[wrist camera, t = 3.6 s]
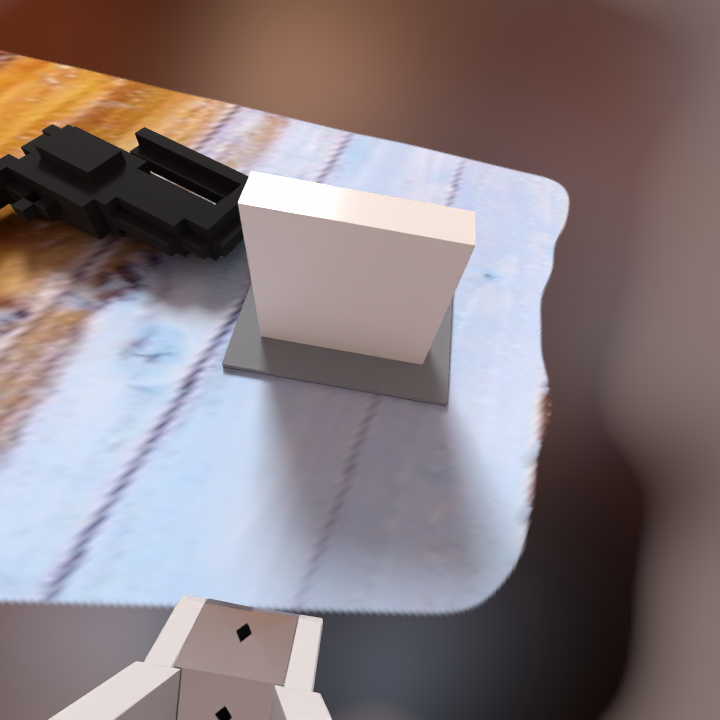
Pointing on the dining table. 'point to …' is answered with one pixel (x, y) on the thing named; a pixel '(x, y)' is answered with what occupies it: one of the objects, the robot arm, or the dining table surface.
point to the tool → (127, 190)
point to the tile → (351, 265)
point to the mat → (341, 362)
